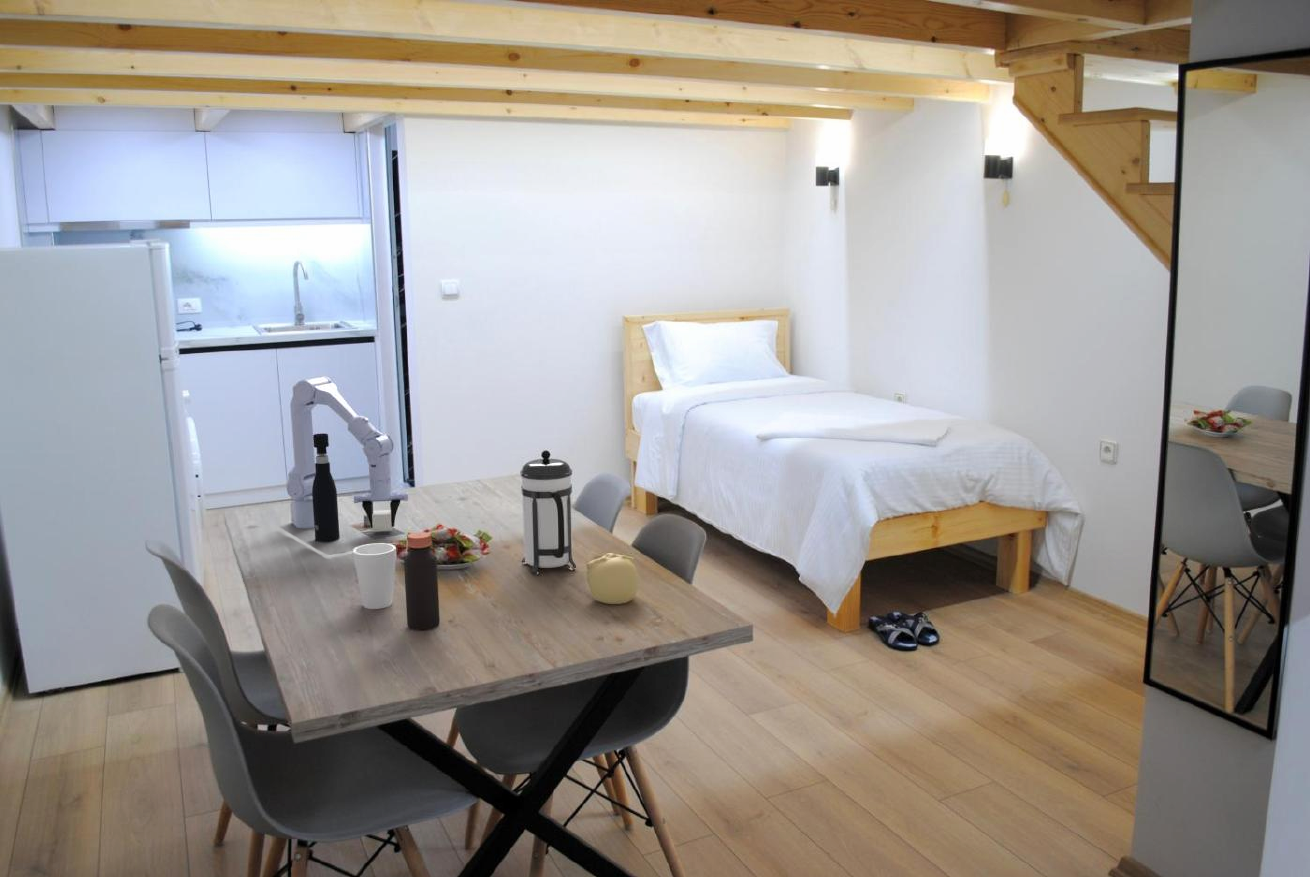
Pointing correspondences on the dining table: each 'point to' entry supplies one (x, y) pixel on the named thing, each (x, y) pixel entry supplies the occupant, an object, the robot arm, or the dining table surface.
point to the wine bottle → (324, 495)
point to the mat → (383, 533)
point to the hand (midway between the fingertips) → (382, 526)
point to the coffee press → (547, 513)
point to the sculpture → (613, 578)
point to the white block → (381, 520)
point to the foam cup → (375, 573)
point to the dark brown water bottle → (421, 583)
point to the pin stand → (363, 524)
